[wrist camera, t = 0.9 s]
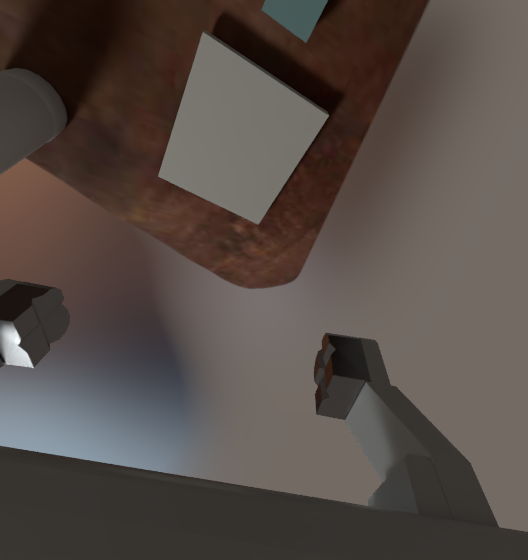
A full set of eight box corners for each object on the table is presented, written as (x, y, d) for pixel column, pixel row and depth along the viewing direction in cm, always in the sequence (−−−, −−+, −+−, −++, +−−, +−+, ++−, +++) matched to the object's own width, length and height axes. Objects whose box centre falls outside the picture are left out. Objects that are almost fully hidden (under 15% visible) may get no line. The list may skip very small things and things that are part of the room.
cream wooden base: (208, 28, 33) (203, 31, 31) (326, 108, 38) (329, 115, 36) (164, 166, 44) (158, 176, 42) (259, 214, 49) (258, 224, 47)
